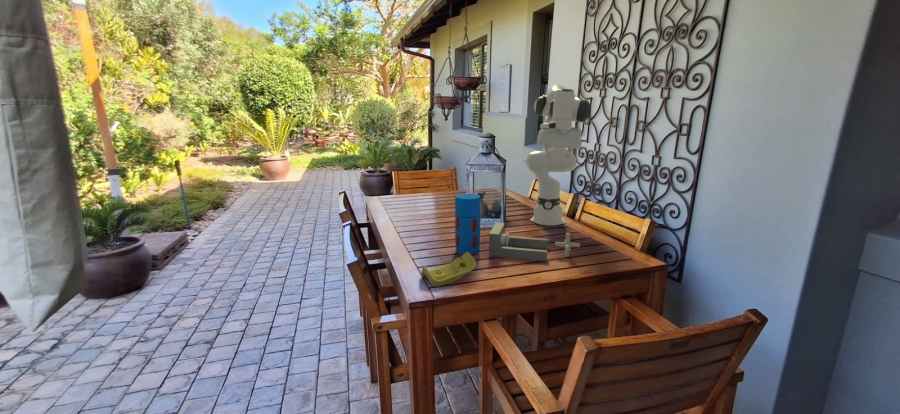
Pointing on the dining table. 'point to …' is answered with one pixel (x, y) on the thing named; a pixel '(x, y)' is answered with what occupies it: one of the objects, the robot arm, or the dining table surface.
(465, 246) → the thermos
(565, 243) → the pipe connector
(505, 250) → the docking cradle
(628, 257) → the dining table surface
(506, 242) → the rounded knob
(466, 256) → the plastic component
